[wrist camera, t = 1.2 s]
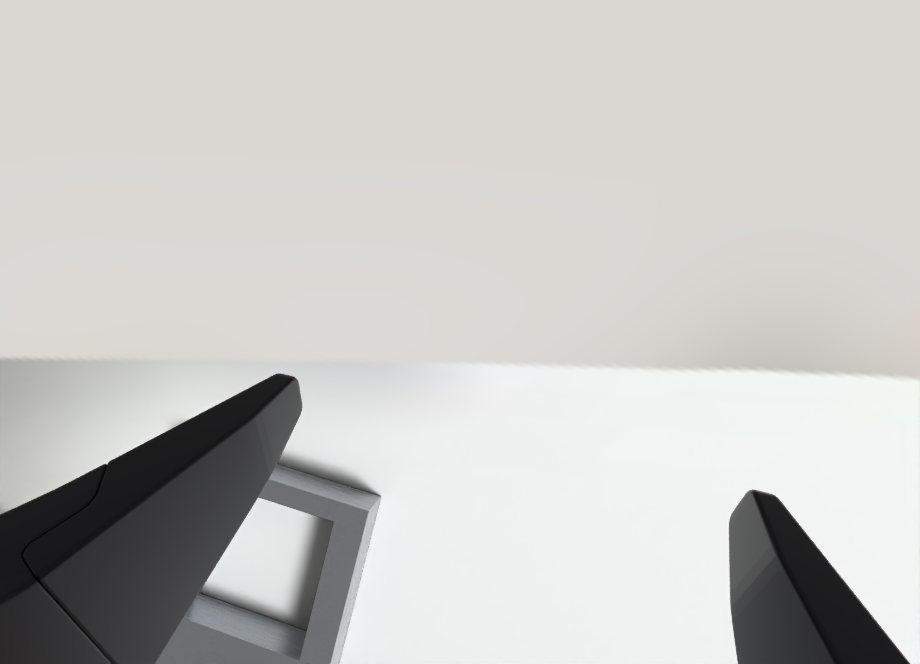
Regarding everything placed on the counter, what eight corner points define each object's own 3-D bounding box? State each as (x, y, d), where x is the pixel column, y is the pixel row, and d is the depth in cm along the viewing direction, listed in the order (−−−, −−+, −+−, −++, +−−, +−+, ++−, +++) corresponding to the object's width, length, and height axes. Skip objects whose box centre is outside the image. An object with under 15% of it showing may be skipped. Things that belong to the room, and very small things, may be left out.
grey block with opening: (298, 823, 26) (252, 922, 22) (131, 754, 28) (57, 835, 23) (381, 496, 25) (350, 532, 21) (204, 441, 27) (141, 464, 22)
